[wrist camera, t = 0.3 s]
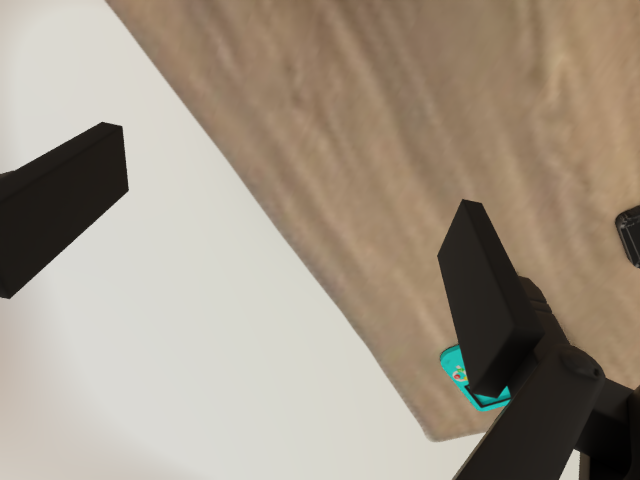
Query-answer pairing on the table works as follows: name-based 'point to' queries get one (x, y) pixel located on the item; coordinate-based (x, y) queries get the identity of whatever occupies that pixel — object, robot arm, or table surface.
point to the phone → (630, 234)
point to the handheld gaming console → (456, 371)
